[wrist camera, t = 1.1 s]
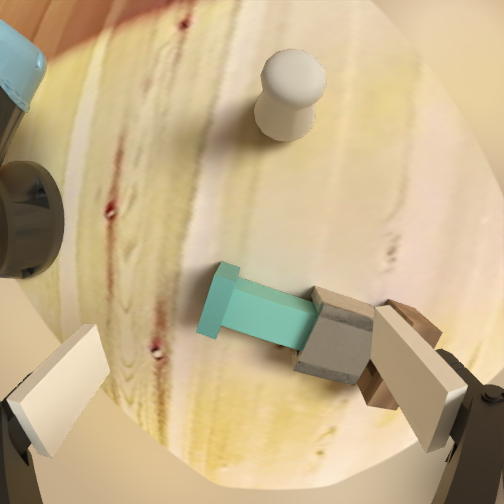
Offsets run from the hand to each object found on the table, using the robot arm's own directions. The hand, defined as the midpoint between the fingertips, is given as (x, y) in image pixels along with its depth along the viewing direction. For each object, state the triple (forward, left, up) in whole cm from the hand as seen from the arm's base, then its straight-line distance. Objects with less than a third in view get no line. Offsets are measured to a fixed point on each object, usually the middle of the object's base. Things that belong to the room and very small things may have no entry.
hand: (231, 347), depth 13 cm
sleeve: (+11, -4, -19) cm, 23 cm away
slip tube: (+4, -4, -19) cm, 20 cm away
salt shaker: (-1, +15, -20) cm, 24 cm away
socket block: (+19, -4, -19) cm, 27 cm away
